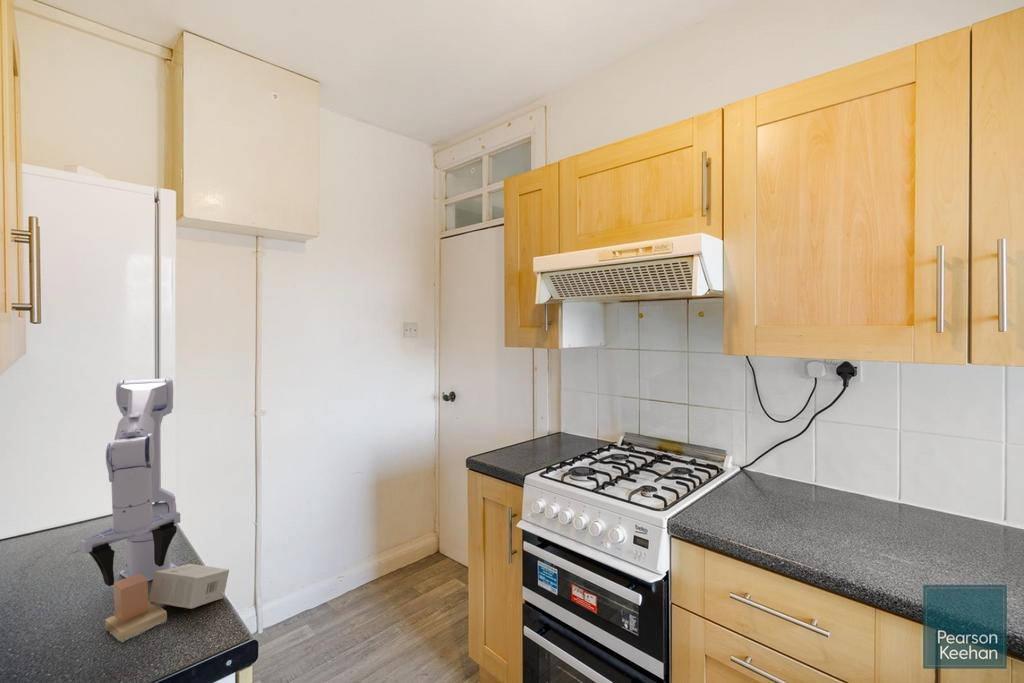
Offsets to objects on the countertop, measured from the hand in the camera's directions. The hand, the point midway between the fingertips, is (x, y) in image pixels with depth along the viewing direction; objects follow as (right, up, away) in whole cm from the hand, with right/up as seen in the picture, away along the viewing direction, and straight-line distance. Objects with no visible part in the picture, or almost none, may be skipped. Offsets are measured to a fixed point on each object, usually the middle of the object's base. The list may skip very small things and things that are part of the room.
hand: (135, 573), depth 86 cm
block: (-2, -8, +1) cm, 8 cm away
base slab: (0, -10, 0) cm, 10 cm away
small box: (+10, -6, +6) cm, 13 cm away
